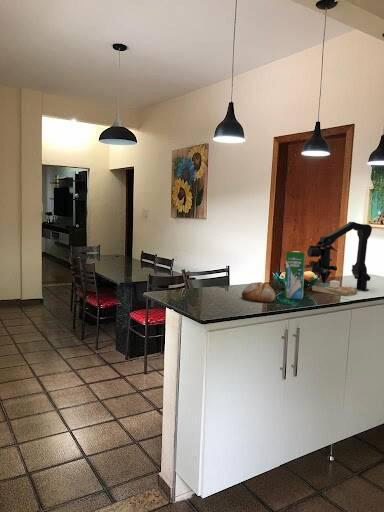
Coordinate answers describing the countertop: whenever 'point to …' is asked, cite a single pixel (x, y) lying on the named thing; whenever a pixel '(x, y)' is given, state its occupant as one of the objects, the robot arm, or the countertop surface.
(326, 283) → the key teal
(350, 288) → the key terracotta
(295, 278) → the milk carton
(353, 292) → the wooden cutting board
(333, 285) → the key ivory
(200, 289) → the countertop surface
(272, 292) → the bread
